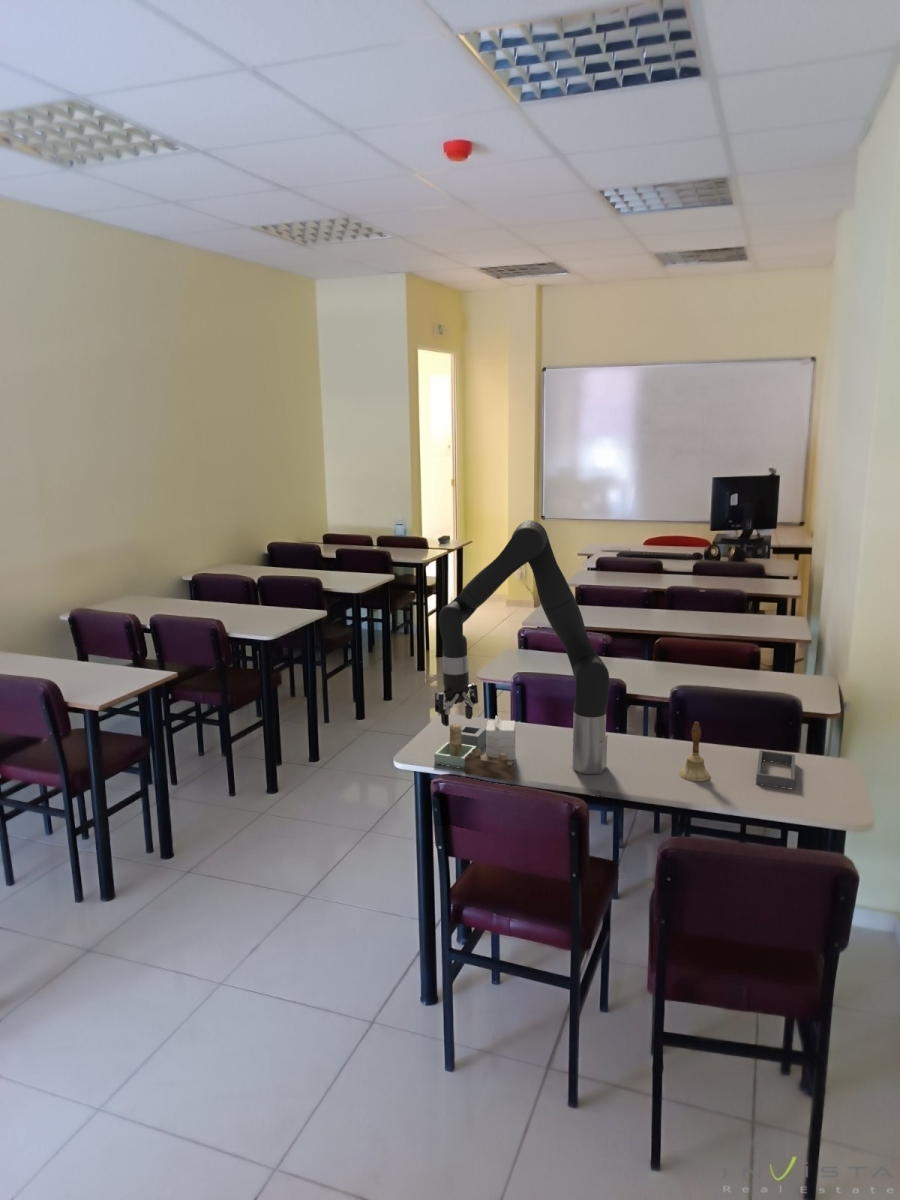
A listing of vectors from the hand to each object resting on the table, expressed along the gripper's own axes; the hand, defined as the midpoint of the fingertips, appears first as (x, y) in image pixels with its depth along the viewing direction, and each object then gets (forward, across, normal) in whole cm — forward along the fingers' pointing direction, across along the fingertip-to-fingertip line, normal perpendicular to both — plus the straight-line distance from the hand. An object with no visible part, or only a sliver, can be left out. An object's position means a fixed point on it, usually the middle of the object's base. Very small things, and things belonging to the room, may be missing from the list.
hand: (457, 721), depth 236 cm
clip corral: (+13, +63, -65) cm, 91 cm away
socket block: (+12, +9, +6) cm, 16 cm away
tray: (+12, -1, 0) cm, 12 cm away
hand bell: (+13, +45, -51) cm, 69 cm away
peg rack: (+12, 0, -15) cm, 19 cm away
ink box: (+12, +8, -10) cm, 18 cm away
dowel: (+11, -1, 0) cm, 11 cm away
